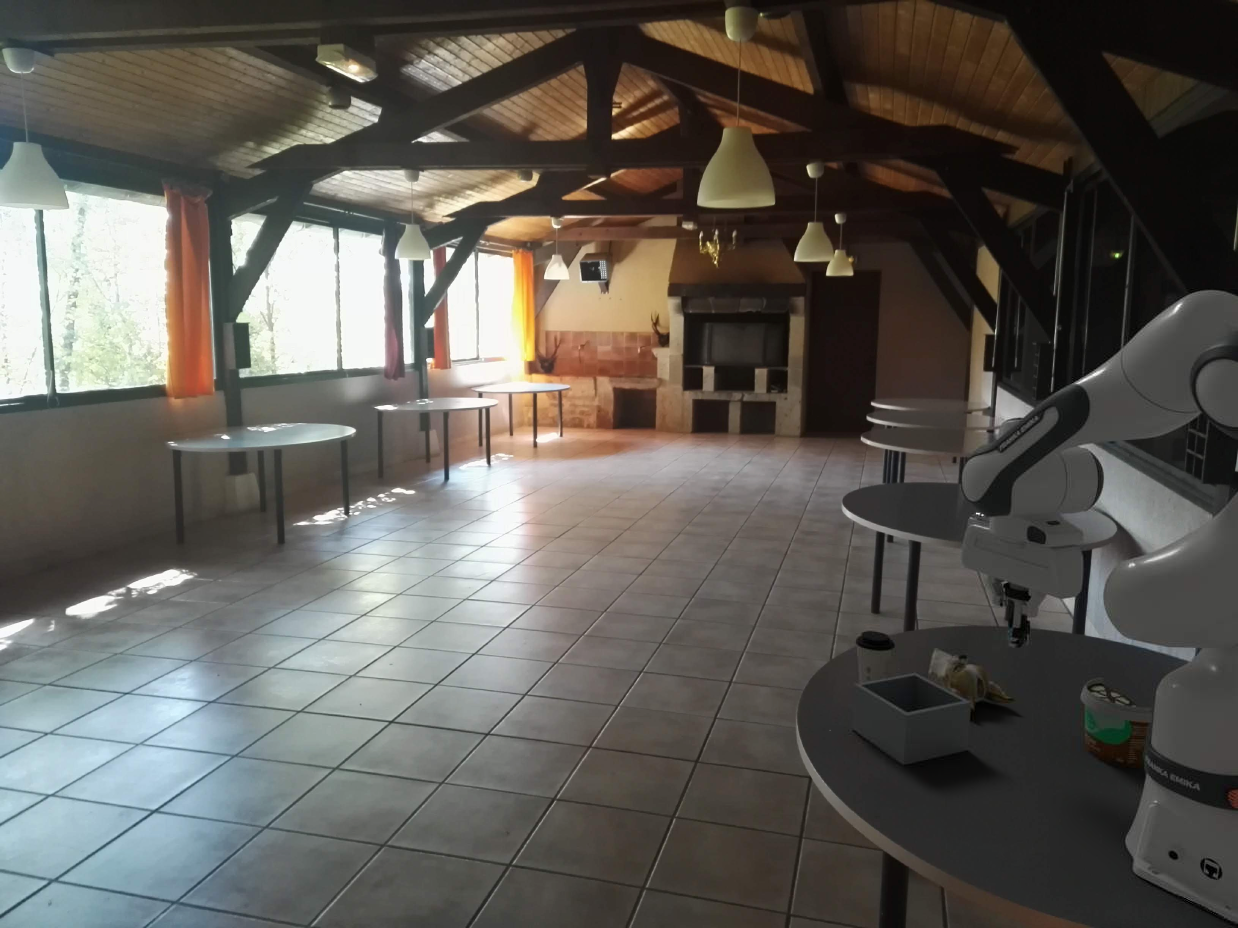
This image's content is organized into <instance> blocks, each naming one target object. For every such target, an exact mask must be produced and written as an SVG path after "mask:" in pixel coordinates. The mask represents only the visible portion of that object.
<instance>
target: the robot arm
mask: <svg viewBox="0 0 1238 928" xmlns="http://www.w3.org/2000/svg"><path fill="white" fill-rule="evenodd" d="M1200 415H1203V416H1204V417H1205V418H1206V419H1207V420H1208V421H1209V422H1210V423H1211V424H1212V425H1213V426H1215V427H1216V428H1217V429H1218V430H1220V431H1221V432H1222V433H1224V434H1226V435H1227V436H1229V437H1231V438H1233V439H1234V440H1238V296H1237V295H1236V294H1233V293H1230V292H1227V291H1223V290H1215V289H1209V290H1208V289H1206V290H1200V291H1195V292H1192V293H1189V294H1187V295H1185V296H1184V297H1182V298H1180V299H1179V300H1177V301H1176V302H1174V303H1173V304H1172V305H1170V306H1168V307H1167V308H1166V309H1164V310H1163V311H1162V312H1160V313H1159V314H1158V315H1156V316H1155V317H1154V318H1153V319H1152V320H1150V321H1149V322H1148V323H1146V325H1145V326H1143V327H1142V328H1141V329H1140V330H1139V331H1138V332H1137V333H1136V334H1135V335H1134V336H1133V337H1132V338H1131V339H1130V340H1129V341H1128V342H1127V343H1126V344H1125V345H1124V346H1123V347H1122V348H1121V349H1120V350H1119V351H1118V352H1117V353H1115V354H1113V356H1112V357H1111V358H1109V359H1108V360H1107V361H1106V362H1104V363H1102V364H1101V365H1100V366H1098V367H1097V368H1096V369H1094V370H1093V371H1091V372H1089V373H1088V374H1086V375H1085V376H1083V377H1081V378H1080V379H1078V380H1076V381H1074V382H1073V383H1071V384H1069V385H1066V386H1064V387H1062V388H1061V389H1059V390H1057V391H1056V392H1055V393H1053V394H1051V395H1049V396H1048V397H1047V398H1045V399H1044V400H1043V401H1042V402H1040V403H1039V404H1037V406H1036V407H1034V408H1033V409H1032V410H1030V411H1029V412H1028V413H1027V414H1026V415H1025V416H1023V417H1014V418H1013V417H1012V418H1008V419H1006V420H1005V421H1003V422H1002V423H1001V424H1000V426H999V430H998V433H997V436H996V440H995V441H992V442H990V443H986V444H982V445H980V446H979V447H978V448H976V449H975V450H974V451H973V452H972V453H971V454H970V456H969V457H968V458H967V460H966V461H965V462H964V464H963V467H962V470H961V474H960V486H961V492H962V494H963V497H964V499H965V500H966V501H967V502H968V503H969V505H971V506H972V507H973V508H974V509H975V510H976V511H977V512H975V513H974V514H971V516H970V517H968V519H967V527H966V530H965V533H964V536H963V543H962V547H961V553H960V560H961V563H962V565H963V567H964V568H965V569H968V570H971V571H975V572H977V573H979V574H983V575H986V576H987V584H988V586H989V589H990V591H991V593H992V600H991V601H992V604H993V605H994V606H998V607H1007V606H1008V604H1009V597H1007V596H1005V589H1004V588H1003V583H1005V582H1006V583H1009V582H1010V583H1013V584H1016V585H1019V586H1022V587H1025V588H1028V589H1029V594H1028V595H1029V596H1032V597H1031V598H1030V600H1029V602H1028V603H1027V604H1022V615H1024V616H1027V618H1030V619H1031V618H1037V617H1038V615H1039V606H1041V604H1042V602H1043V601H1044V600H1045V599H1046V597H1047V596H1050V597H1053V598H1057V599H1059V600H1065V599H1073V598H1076V597H1077V596H1078V595H1079V594H1080V593H1081V592H1082V589H1083V581H1084V555H1083V553H1082V551H1081V549H1080V548H1079V546H1078V545H1079V544H1082V543H1083V541H1084V532H1083V530H1082V529H1080V528H1079V527H1077V526H1076V525H1074V524H1072V523H1071V522H1069V521H1067V520H1066V519H1065V518H1064V517H1062V516H1061V515H1062V514H1063V515H1064V514H1077V513H1078V514H1079V513H1082V512H1087V511H1088V510H1091V508H1092V507H1094V505H1096V504H1097V502H1098V501H1099V499H1100V497H1101V495H1102V492H1103V489H1104V483H1105V473H1104V468H1103V466H1102V464H1101V461H1100V460H1099V458H1098V457H1097V456H1096V455H1095V454H1094V453H1093V452H1092V451H1090V449H1087V448H1085V447H1081V446H1085V445H1089V444H1090V445H1091V444H1096V443H1097V444H1099V443H1107V442H1118V441H1132V440H1142V439H1150V438H1157V437H1160V436H1163V435H1166V434H1169V433H1171V432H1173V431H1175V430H1177V429H1178V428H1181V427H1182V426H1183V427H1184V425H1187V424H1188V423H1190V422H1191V421H1193V420H1194V419H1196V418H1197V417H1198V416H1200ZM1059 514H1061V515H1059ZM1102 595H1103V596H1102V597H1103V606H1104V611H1105V613H1106V615H1107V618H1108V620H1109V622H1110V623H1111V625H1112V626H1113V627H1114V628H1115V629H1116V630H1117V632H1118V633H1119V634H1120V635H1121V636H1123V637H1125V638H1126V639H1128V640H1133V641H1137V642H1142V643H1146V644H1149V645H1156V646H1162V647H1166V648H1186V649H1188V648H1190V649H1194V648H1195V649H1196V648H1197V649H1200V651H1199V652H1198V654H1197V655H1195V657H1193V659H1191V660H1190V661H1189V662H1187V663H1186V664H1184V665H1182V666H1181V667H1178V668H1177V669H1174V670H1172V671H1171V672H1169V673H1168V674H1166V675H1165V676H1163V678H1162V679H1161V681H1160V682H1159V684H1158V686H1157V689H1156V691H1155V698H1154V699H1155V701H1154V709H1153V716H1152V729H1151V737H1149V738H1148V739H1147V742H1146V748H1145V754H1144V763H1143V768H1144V772H1145V780H1144V785H1143V791H1142V795H1141V798H1140V802H1139V806H1138V808H1137V811H1136V815H1135V817H1134V820H1133V822H1132V824H1131V826H1130V829H1129V831H1128V832H1127V834H1126V836H1125V846H1126V848H1127V851H1128V853H1130V855H1131V856H1132V859H1133V862H1132V870H1133V872H1134V873H1135V874H1136V875H1137V876H1138V877H1140V878H1142V879H1143V880H1146V881H1149V882H1150V883H1152V884H1154V885H1155V886H1158V887H1160V888H1162V889H1164V890H1166V891H1168V892H1171V893H1172V894H1173V895H1176V894H1177V895H1176V896H1178V895H1179V896H1178V897H1180V896H1182V897H1184V898H1187V899H1188V900H1190V901H1193V902H1196V903H1198V904H1201V905H1202V906H1205V907H1207V908H1208V909H1209V910H1212V911H1213V912H1216V913H1218V914H1219V915H1221V916H1223V917H1224V918H1227V919H1228V920H1230V921H1235V922H1237V923H1238V491H1237V492H1236V493H1235V495H1234V496H1233V497H1232V498H1231V499H1230V501H1229V502H1228V503H1227V504H1226V505H1225V506H1224V507H1223V508H1222V509H1221V510H1220V511H1219V512H1218V513H1217V514H1216V515H1215V516H1214V517H1212V518H1211V519H1209V520H1208V521H1207V522H1206V523H1204V524H1202V525H1200V526H1198V527H1197V528H1195V529H1194V530H1192V531H1190V532H1189V533H1187V534H1185V535H1184V536H1182V537H1180V538H1179V539H1177V540H1175V541H1174V542H1173V541H1172V542H1171V543H1170V544H1168V545H1166V546H1163V547H1162V548H1159V549H1156V550H1155V551H1152V552H1149V553H1146V554H1144V555H1141V556H1138V557H1133V558H1130V559H1125V560H1123V561H1121V562H1119V563H1118V564H1117V565H1116V566H1115V567H1114V568H1113V569H1112V570H1111V572H1110V573H1109V575H1108V577H1107V578H1106V580H1105V584H1104V588H1103V594H1102ZM1182 897H1181V898H1182ZM1184 898H1183V899H1184ZM1188 900H1187V901H1188ZM1190 901H1189V902H1190ZM1224 918H1223V919H1224ZM1228 920H1227V921H1228ZM1230 921H1229V922H1230Z"/></svg>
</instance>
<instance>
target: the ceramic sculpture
mask: <svg viewBox="0 0 1238 928" xmlns="http://www.w3.org/2000/svg"><path fill="white" fill-rule="evenodd" d="M988 678H989V677H988V675H987V672H986V671H985V669H983V667H981V666H980V665H979V664H977V663H975V662H972V661H971V660H970V658H969V657H968V656H967V655H966V654H961V653H960V654H956V655H955V654H954V655H953V656H952V655H951V654H950V653H947V652H945V651H942V650H941V649H939V648H937V647H935V648H934V649H933V653H932V656H931V659H930V664H929V667H928V672H927V679H928V680H930V681H932V682H934V683H936V684H937V685H939V686H941V687H943V688H945V689H947V690H949V691H951V692H953V693H955V694H956V695H958V696H960V697H962V698H964V699H966V700H968V701H970V702H971V710H970V712H975V709H976V708H975V707H976V703H979V702H981V701H982V700H983V699H986V700H987V701H989V702H991V703H994V704H1011V703H1015V702H1016V699H1015V698H1014V697H1009V696H1008V694H1007V693H1006V692H1004V690H1003V688H1002V687H1000V686H999V685H997V684H996V682H994V681H993V680H989V679H988Z"/></svg>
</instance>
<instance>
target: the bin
mask: <svg viewBox="0 0 1238 928" xmlns="http://www.w3.org/2000/svg"><path fill="white" fill-rule="evenodd" d="M852 699H853V701H852V720H851V721H852V722H851V724H852V725H851V729H852V728H853V729H854V730H855V731H857V732H858V733H859V734H861V735H862V736H863V737H865V738H866V739H867V740H869V741H870V742H871V743H870V742H869V741H868V742H869V743H870V744H872V743H873V744H874V745H873V744H872V745H873V746H875V745H876V746H875V747H877V749H879V748H880V749H879V750H880V751H882V750H883V751H882V752H884V753H885V754H887V755H888V756H890V757H891V758H892V759H894V760H895V761H897V762H898V763H900V764H902V765H903V766H904V765H905V766H906V765H909V764H914V763H918V762H923V761H927V760H931V759H936V758H939V757H944V756H945V757H946V756H948V755H949V756H950V755H953V754H957V753H962V752H966V751H968V750H969V738H970V737H969V735H970V724H971V723H970V722H971V721H970V720H971V711H970V710H971V702H970V701H968V700H966V699H964V698H962V697H960V696H958V695H956V694H955V693H953V692H951V691H949V690H947V689H945V688H943V687H941V686H939V685H937V684H936V683H934V682H932V681H930V680H928V678H926V677H924V676H922V675H921V674H918V673H917V672H911V673H908V674H902V675H896V676H892V677H891V676H890V677H888V678H885V679H879V680H874V681H868V682H863V683H860V682H858V683H854V684H853V698H852ZM863 737H862V738H863ZM866 739H865V740H866ZM867 740H866V741H867Z"/></svg>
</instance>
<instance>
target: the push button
mask: <svg viewBox="0 0 1238 928" xmlns="http://www.w3.org/2000/svg"><path fill="white" fill-rule="evenodd" d="M1002 585H1003V589H1004V592H1005V596H1007V597H1008V600H1011V601H1013V602H1014V604H1013V607H1012V608H1013V609H1012V610H1013V611H1012V613H1011V617H1009V618H1008V620H1007V626H1008V630H1007V632H1006V639H1005V640H1006V642H1007V646H1008V647H1010V648H1018V649H1019V648H1022V646H1023V645H1024V644H1025V645H1026V646H1027V645H1029V642H1030V635H1031V620H1028V617H1027V616H1024V615H1022V604H1027V603H1028V602H1029V600H1030V598H1031V597H1032V596H1029V595H1028V594H1029V589H1028V588H1025V587H1022V586H1019V585H1016V584H1013V583H1010V582H1006V583H1005V582H1003V583H1002Z"/></svg>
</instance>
